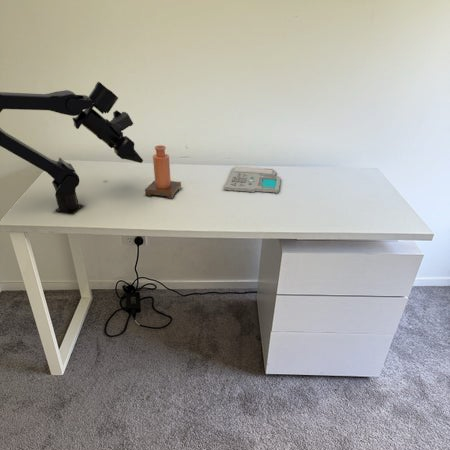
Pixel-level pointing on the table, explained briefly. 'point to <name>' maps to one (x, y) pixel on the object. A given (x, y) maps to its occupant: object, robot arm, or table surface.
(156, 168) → the vase
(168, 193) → the stand
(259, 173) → the office telephone
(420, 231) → the table surface
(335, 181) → the table surface
